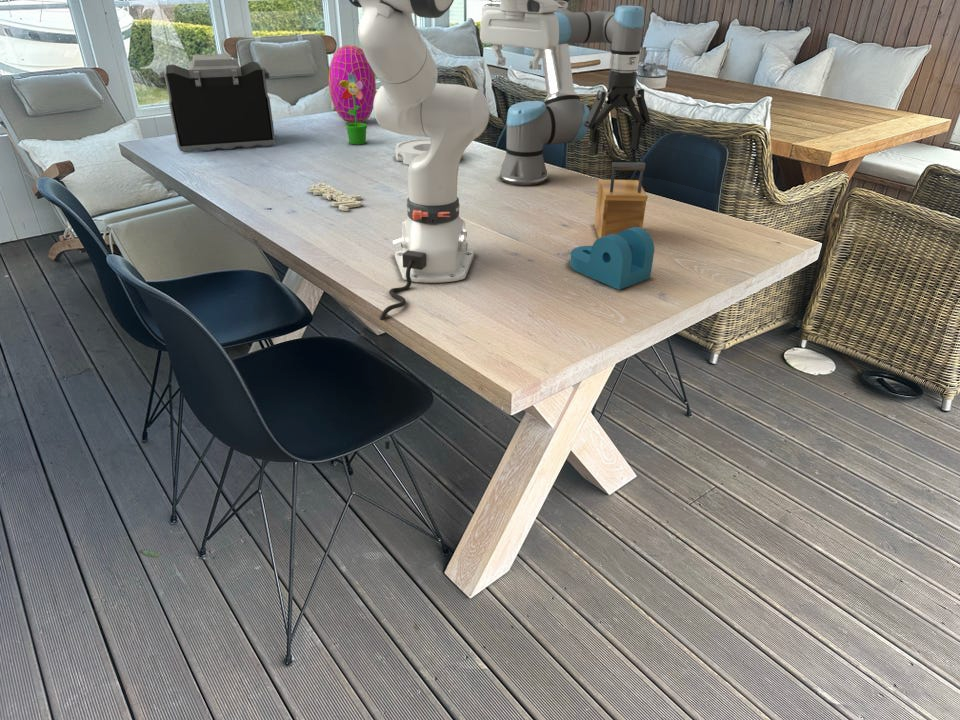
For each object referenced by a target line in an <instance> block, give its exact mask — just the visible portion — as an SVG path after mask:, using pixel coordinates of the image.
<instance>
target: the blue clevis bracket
mask: <svg viewBox="0 0 960 720" xmlns="http://www.w3.org/2000/svg"><path fill="white" fill-rule="evenodd" d="M654 255H655V244H654V240H653V238H652V236H651V235H650V234H649V232H648V231H647V230H646V229H644V228H640V227H633V228H629V229H626V230H623V231H621V232H620V233H619V234H618V235H617V234H610V235H607V236H604V237H601V238H599V237H598V238H597V239H595V241H594V242H593V243H592V245H581V246H577V247H575V248H572V249H571V251H570V257H569V258H570V259H569V266H570V268H571V269H572V270H573V271H575V272H577V273H579V274H582V275H584V276H586V277H588V278H591V279H593V280H595V281H598V282H600V283H603V284H605V285H607V286H609V287H611V288H613V289H616V290H619V291H620V290H622V289H626V288H627V287H630V286H633V285H636V284H638V283H640V282H643V281H646V280H648V279H651V277H652V269H653V262H654V257H655V256H654Z"/></svg>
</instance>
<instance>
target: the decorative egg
mask: <svg viewBox="0 0 960 720" xmlns="http://www.w3.org/2000/svg"><path fill="white" fill-rule="evenodd" d="M348 73H350V74H352V75H354V76H355V78H356V83H357V82H358V81H361V82H362V84H363V89H361V90H360V91H361V92H362V93H363V98H362V100H359V99H358V98H357V97H356V95H355V103H356V106H359V109H358V110H356V116H357V123H364V122H365V121H366V120H368V118H369V117H370V116H371V114H372V112H373V111H374V110H373V102H374V98H375V95H376V93H377V83H376V82H377V81H376V75H375V73H374V72H373V70H372V68H371V67H370V65H369V63H368V61H367V59H366V57H365V55H364V52H363V50H362V47H359V46H357V45H353V44H352V45H351V44H348V45H343V46H340V47H338V48H337V49H336V51H334V53H333V56H332V57H331V61H330V63H329V69H328V90H329V96H330V99H331V103H332V105H333V108H334V110H335V111H336V113H337V114H338V116H339V118H341V119H342V120H343V121H344V122H346V123H348V124H349V123H355V115H351V114H349V112H348V111H349V110H354V100H353V95H352V96H351V97H350V98H348V99H341V97H342V94H343V93H344V91H345V90H347V89H346V88H343V87H342V86H341V85H340V84H339V83H340V82H341V81H342V80H346V81H349V78H348Z"/></svg>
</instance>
